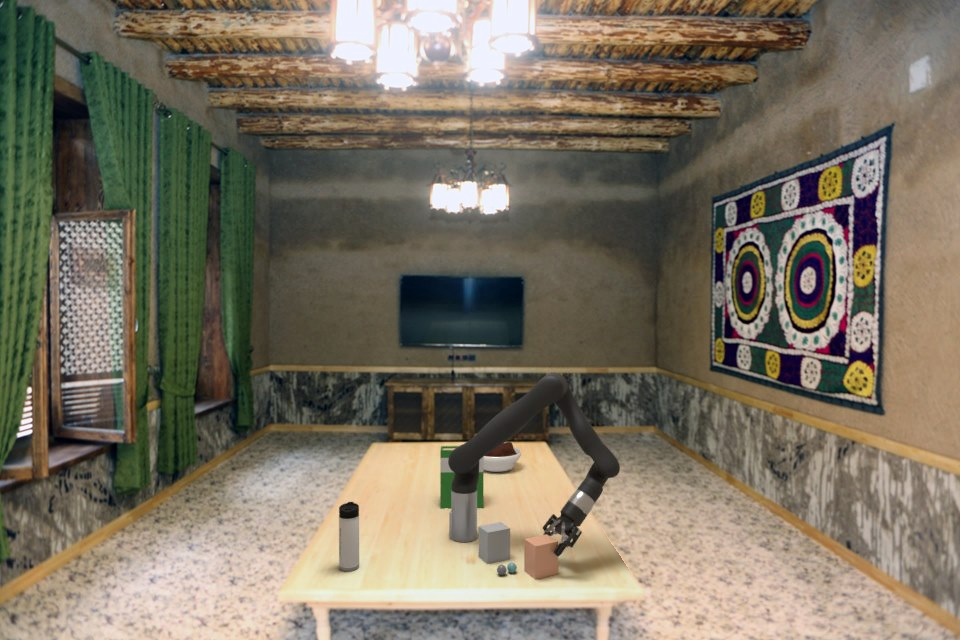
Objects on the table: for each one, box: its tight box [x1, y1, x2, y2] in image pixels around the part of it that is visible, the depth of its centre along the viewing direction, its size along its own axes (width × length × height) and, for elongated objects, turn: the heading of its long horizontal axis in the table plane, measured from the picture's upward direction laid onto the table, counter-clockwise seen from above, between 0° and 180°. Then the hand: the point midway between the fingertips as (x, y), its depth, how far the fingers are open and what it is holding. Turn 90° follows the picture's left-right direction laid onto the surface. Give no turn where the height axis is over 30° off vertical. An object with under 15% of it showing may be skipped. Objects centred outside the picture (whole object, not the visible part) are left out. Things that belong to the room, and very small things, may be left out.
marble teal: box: [506, 562, 518, 574], centre depth 187 cm, size 3×3×3 cm
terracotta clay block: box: [523, 534, 559, 580], centre depth 187 cm, size 8×6×10 cm
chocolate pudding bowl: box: [484, 441, 522, 473], centre depth 302 cm, size 25×25×15 cm
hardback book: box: [439, 445, 485, 510], centre depth 248 cm, size 18×7×24 cm, turn 92°
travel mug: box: [338, 501, 360, 572], centre depth 190 cm, size 6×7×20 cm
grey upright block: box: [477, 521, 511, 565], centre depth 197 cm, size 8×6×10 cm
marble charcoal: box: [496, 564, 508, 576], centre depth 185 cm, size 3×3×3 cm
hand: (548, 549), depth 187 cm, fingers open, 8 cm apart
